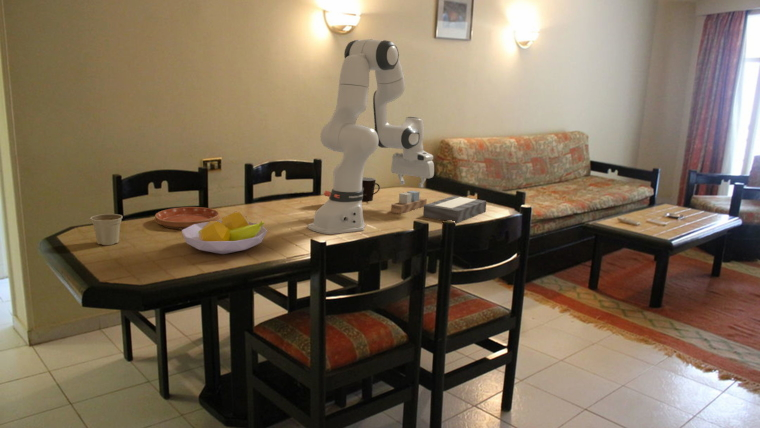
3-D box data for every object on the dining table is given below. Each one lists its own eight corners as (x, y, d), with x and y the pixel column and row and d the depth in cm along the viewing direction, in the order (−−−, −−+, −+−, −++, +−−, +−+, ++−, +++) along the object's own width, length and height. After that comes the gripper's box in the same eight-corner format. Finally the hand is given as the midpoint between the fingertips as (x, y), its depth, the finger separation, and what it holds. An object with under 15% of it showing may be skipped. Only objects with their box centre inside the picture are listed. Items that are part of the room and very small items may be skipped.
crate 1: (406, 203, 246) (407, 194, 245) (398, 202, 248) (399, 193, 247) (411, 202, 249) (411, 193, 248) (403, 201, 251) (403, 192, 250)
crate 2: (414, 201, 251) (414, 193, 250) (406, 200, 253) (407, 191, 252) (419, 200, 254) (419, 191, 253) (411, 199, 256) (412, 190, 255)
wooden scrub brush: (400, 215, 241) (401, 206, 240) (390, 213, 244) (391, 204, 243) (426, 207, 259) (426, 198, 258) (416, 205, 262) (417, 197, 261)
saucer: (217, 230, 205) (217, 220, 204) (150, 231, 200) (150, 221, 199) (221, 215, 227) (220, 206, 226) (160, 216, 222) (160, 207, 221)
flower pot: (115, 237, 191) (113, 212, 189) (129, 243, 185) (128, 217, 183) (87, 242, 184) (84, 216, 182) (100, 248, 178) (98, 222, 176)
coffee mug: (353, 198, 269) (354, 177, 267) (370, 197, 273) (371, 177, 270) (363, 203, 259) (364, 182, 257) (380, 202, 262) (381, 181, 260)
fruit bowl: (167, 245, 184) (166, 211, 181) (241, 232, 203) (240, 201, 200) (210, 267, 165) (208, 230, 162) (286, 251, 184) (286, 217, 181)
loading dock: (457, 223, 230) (458, 210, 228) (423, 216, 238) (423, 204, 237) (485, 211, 252) (486, 200, 251) (453, 206, 261) (454, 195, 260)
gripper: (388, 152, 249) (387, 183, 253) (429, 157, 238) (427, 189, 241) (396, 151, 254) (395, 181, 258) (436, 156, 243) (435, 187, 247)
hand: (411, 185), depth 249 cm, fingers open, 8 cm apart
